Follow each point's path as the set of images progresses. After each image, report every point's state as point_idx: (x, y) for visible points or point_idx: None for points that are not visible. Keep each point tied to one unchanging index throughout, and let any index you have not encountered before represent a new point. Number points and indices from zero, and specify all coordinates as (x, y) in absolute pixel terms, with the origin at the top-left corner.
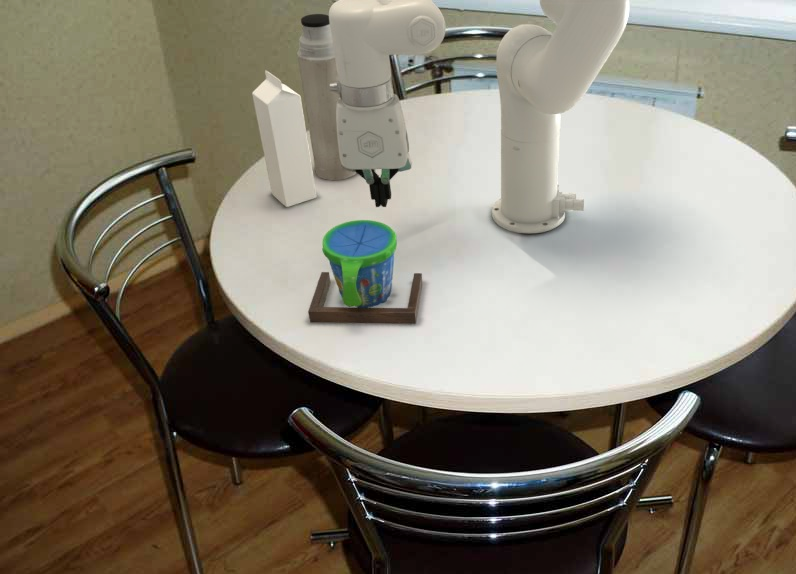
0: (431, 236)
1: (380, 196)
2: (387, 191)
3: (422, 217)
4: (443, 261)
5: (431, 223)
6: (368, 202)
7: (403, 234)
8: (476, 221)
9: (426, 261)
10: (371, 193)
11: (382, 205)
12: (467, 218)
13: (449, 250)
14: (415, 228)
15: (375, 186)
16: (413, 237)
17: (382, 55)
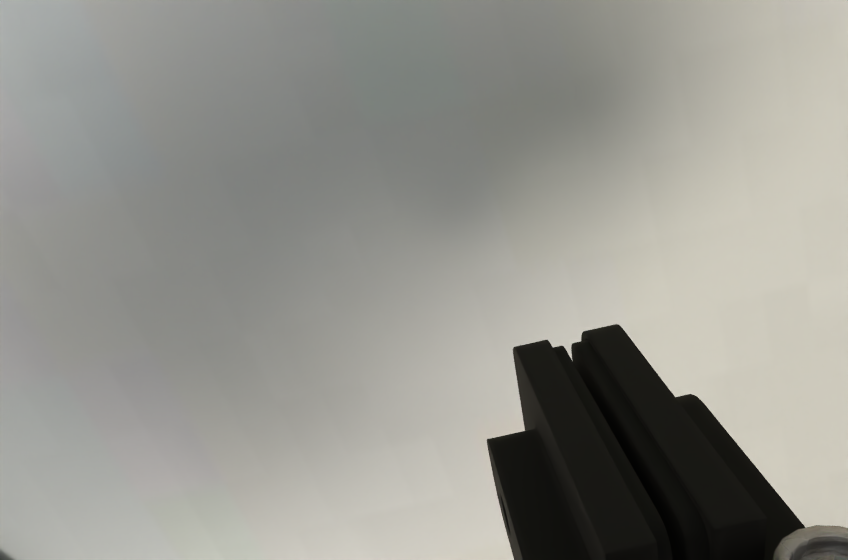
0: (261, 364)
1: (596, 416)
2: (527, 502)
3: (378, 502)
4: (59, 130)
5: (312, 469)
6: None
7: (424, 347)
8: (91, 533)
9: (169, 103)
10: (719, 439)
11: (549, 346)
12: (150, 544)
13: (88, 258)
14: (378, 411)
15: (713, 509)
16: (357, 333)
17: None
